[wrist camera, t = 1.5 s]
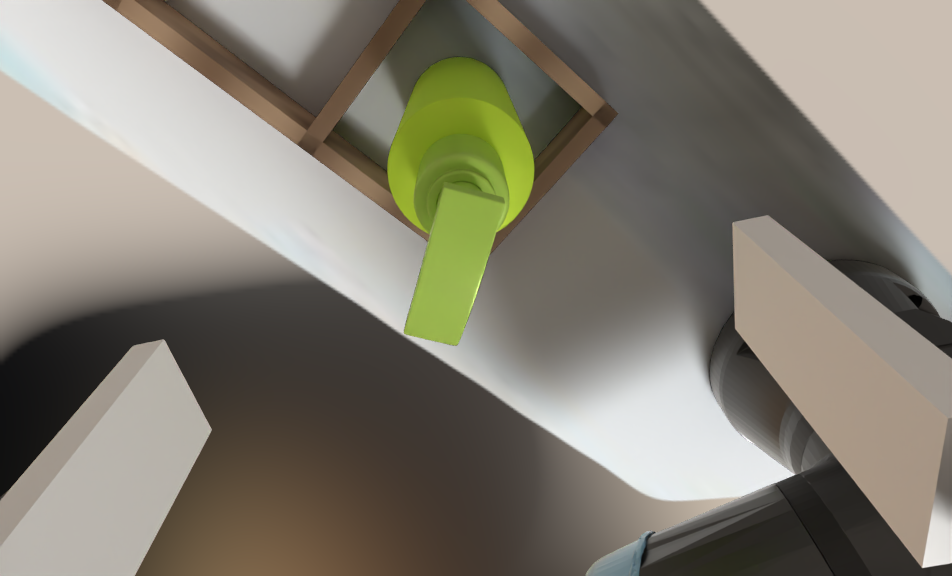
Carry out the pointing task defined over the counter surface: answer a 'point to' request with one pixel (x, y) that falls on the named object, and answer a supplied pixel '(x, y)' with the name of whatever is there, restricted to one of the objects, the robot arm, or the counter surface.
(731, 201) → the counter surface
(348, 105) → the pocket rack
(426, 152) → the soap dispenser
